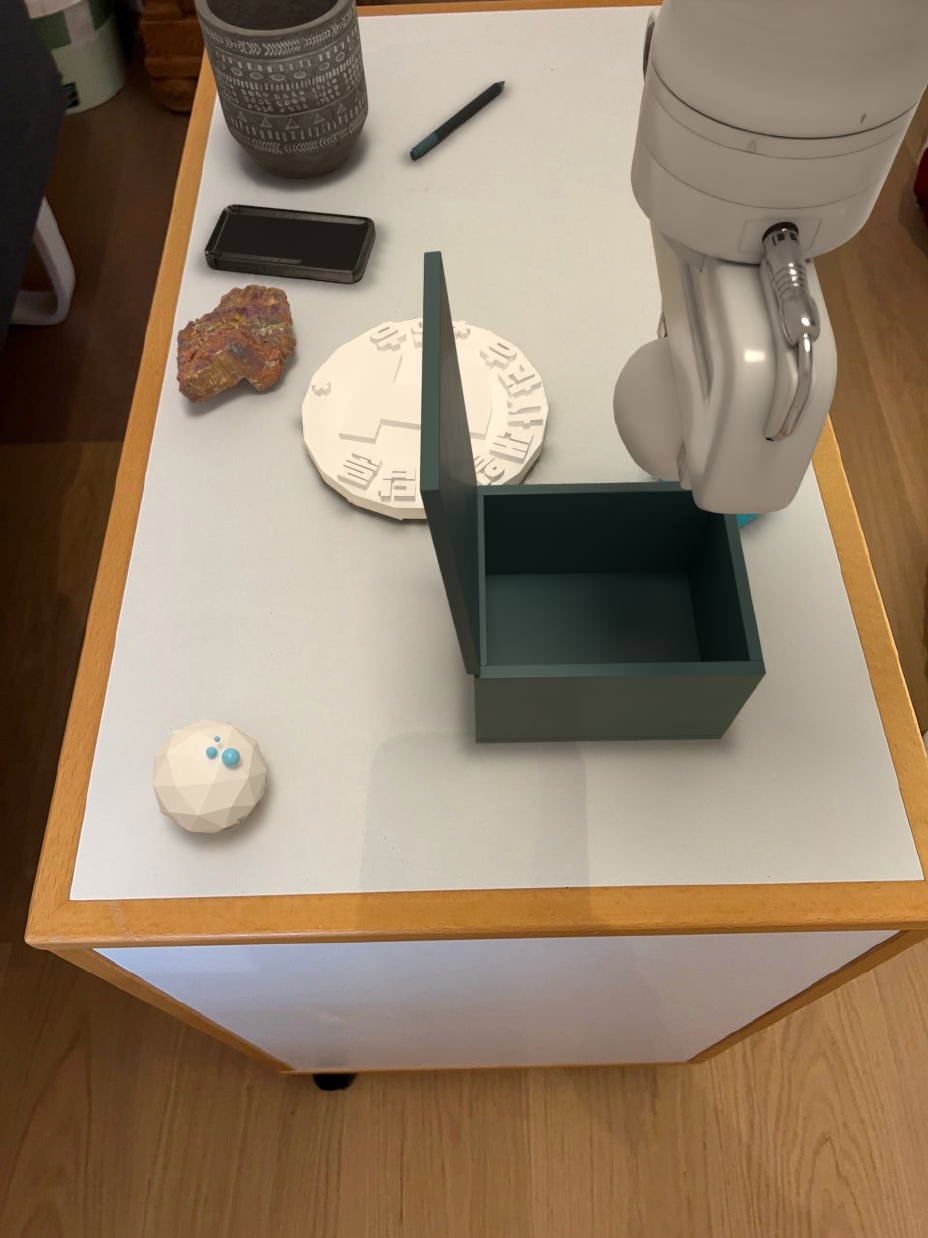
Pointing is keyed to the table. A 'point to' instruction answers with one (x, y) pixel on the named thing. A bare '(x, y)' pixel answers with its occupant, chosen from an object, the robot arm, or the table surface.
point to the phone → (291, 243)
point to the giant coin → (418, 414)
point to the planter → (288, 80)
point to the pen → (456, 120)
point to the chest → (610, 615)
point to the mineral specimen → (236, 343)
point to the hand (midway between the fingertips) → (684, 408)
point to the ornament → (209, 776)
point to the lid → (449, 464)
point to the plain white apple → (650, 410)
